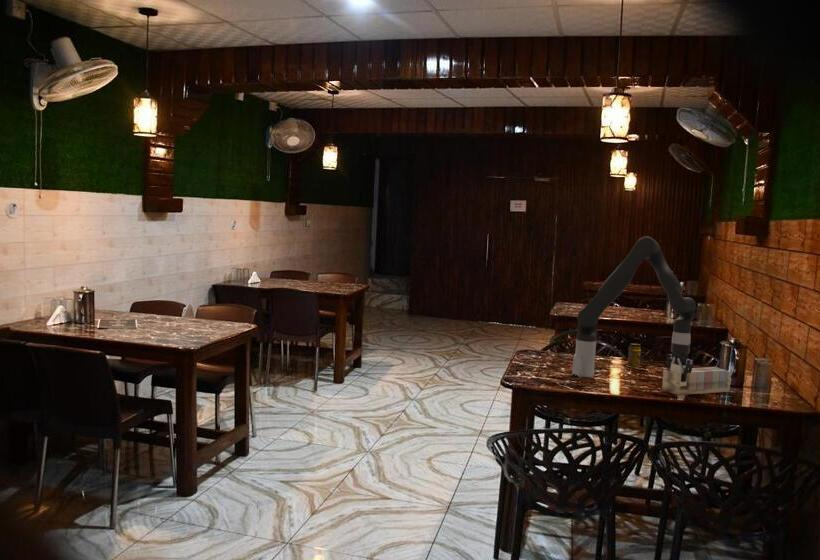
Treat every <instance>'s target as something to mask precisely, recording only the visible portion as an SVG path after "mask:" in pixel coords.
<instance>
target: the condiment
mask: <svg viewBox="0 0 820 560" xmlns="http://www.w3.org/2000/svg"><path fill="white" fill-rule="evenodd" d="M641 353H642V350H641V344H640V343H635V342H633V343H630V344H629V348H628V355H627V364H628V366H631V367H641V356H642V355H641Z"/></svg>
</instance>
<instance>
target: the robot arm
mask: <svg viewBox="0 0 820 560" xmlns="http://www.w3.org/2000/svg"><path fill="white" fill-rule="evenodd" d="M645 260H646V261H647V262H648V263H649V264H650V266H651V267H652V269H653V271H654V272H655V274H656V276H657V279H658V281H659V284H660V285H661V287H662V288H663V290H664V292H665V293H666V294H667V299H668V301H669V306H670V308H671V309H672V311H674V312H675V313H677V314H678V317H677V318H676V319H674V321H673V327H672V328H673V329H672V330H673V332H672V335H671V349H670V351H671V353H669V354H666V367H667V369H669V371H671V363H672V364H674V363H675V364H677V365H679V366H681V368H682V373H681V382H686V380H687V373H691V371H692V368H693V365H694V360H693V359H689V354H690V352H691V351H690V350H691V331H692V321H694V320H693V319H694V317H695V313H696V308H697V304H696V302H695V300H694V299H693V298H692V297H687V296H685V297H684V296H683V295H682V294H681V293H682V292H683V286H682V285H681V283H680V282H679V280H678V278H677V277H676V275H675V274H674V272H673V270H672V269H671V267H670V266H669V265H668V262H667V261H666V258H665V257H664V254H663V251H662V249H661V246H660V244H659V242H657V240H655V239H654V238H652V237H650V236H643V237H640V238H639V239H638V240H637V241H636V243H635V244H634V246H633V247H632V248H631V250H630V251H629V253H628V254H627V256H626V257H625V258H624V259H623V260H622V262H621V263H620V264H618V266H617V267H616V268H615V270H614V271H613V272H612V273H611V274H609V276H608V277H607V278H606V280H605V281H604V282H603V284H602V285H601V287H599V289H598V291H597V293H596V294H595V295H594V297H593V298H592V299H591V300H590V301H589V302H588V303H587V304H586V305H585V306H584V307H582V308H581V309H580V310H579V311H578V313H577V318H576V319H577V330H576V338H575V339H576V340H575V341H576V342H575V354H573V359H572V375H573V374H575V375H574V376H576V375H577V377H579V378H593V377H595V363H596V362H595V360H596V347H597V338H598V337H597V336H598V334H597V333H598V323H599V319H600V316H601V315H602V314H603V313H604V311H605V310H606V309H607V307H609V306H610V305H611V304H612V303H613V302H614V301H615V300H616V299H617V298H618V297H619V296H620V295H621V294H623V292H624V291H625V290H626V289H627V288H628V286H629V285H630V284H631V283H632V280H633V278H634V276H635V273H636V271H637V269H638V267H639V266H640V265H641V264H642V263H643V262H644V261H645ZM682 365H685V366H682ZM684 368H685V371H684ZM688 369H689V370H688Z"/></svg>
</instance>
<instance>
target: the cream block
mask: <svg viewBox="0 0 820 560" xmlns="http://www.w3.org/2000/svg"><path fill="white" fill-rule="evenodd" d="M682 366H685V365H682ZM670 371H671V372H674V373H677V374H680V386H686V383H687V380H686V382H681V373H682V368H681V366H679V365H677V364H675V363H674V364H672V363H671V370H670ZM684 371H685V368H684Z"/></svg>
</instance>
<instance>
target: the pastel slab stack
mask: <svg viewBox="0 0 820 560" xmlns="http://www.w3.org/2000/svg"><path fill="white" fill-rule="evenodd" d="M688 370H689V369H688ZM662 372H663V373H662V382H661V383H662V386H661V390H662V391H664V392H667V393H670V394H673V395H675V396H681V395H697V394H714V393H728V392H730V385H731V374H732V372H731V371H728V370H727V369H723V368H719V367H716V366H712V367H711V366H709V367H692V371H691V373H687V383H686V386H680V374H677V373H674V372H671V370H667V369H663V371H662Z"/></svg>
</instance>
